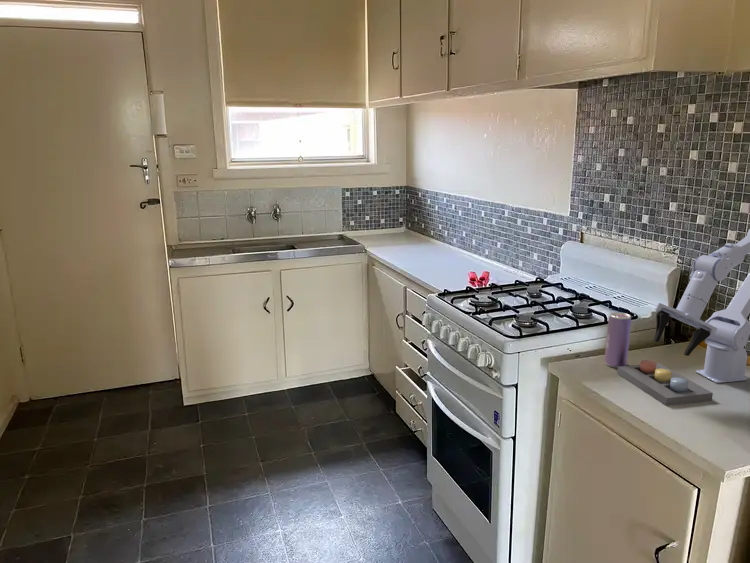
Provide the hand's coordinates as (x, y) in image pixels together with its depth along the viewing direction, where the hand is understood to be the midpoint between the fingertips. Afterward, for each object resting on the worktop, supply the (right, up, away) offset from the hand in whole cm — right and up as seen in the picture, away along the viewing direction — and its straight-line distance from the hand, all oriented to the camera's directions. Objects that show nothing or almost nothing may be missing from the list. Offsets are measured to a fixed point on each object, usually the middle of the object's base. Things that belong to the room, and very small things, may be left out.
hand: (671, 348), depth 144 cm
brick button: (0, -8, +12) cm, 14 cm away
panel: (+1, -11, +7) cm, 13 cm away
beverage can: (-5, -7, +22) cm, 23 cm away
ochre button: (+1, -9, +6) cm, 11 cm away
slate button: (+2, -10, +1) cm, 11 cm away
